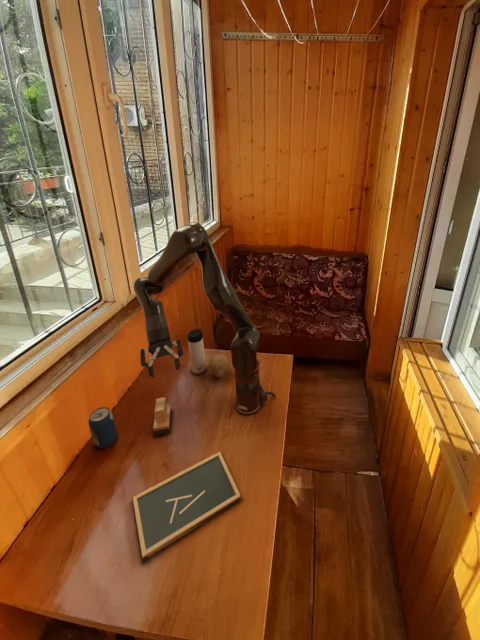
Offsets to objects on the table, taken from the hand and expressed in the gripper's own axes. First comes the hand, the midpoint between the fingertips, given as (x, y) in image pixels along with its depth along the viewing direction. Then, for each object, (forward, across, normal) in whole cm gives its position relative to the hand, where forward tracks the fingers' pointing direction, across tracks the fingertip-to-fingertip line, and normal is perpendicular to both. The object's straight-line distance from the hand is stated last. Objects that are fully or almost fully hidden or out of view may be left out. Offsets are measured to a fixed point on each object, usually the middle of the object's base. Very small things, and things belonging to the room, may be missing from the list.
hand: (165, 373), depth 111 cm
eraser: (+17, -2, +9) cm, 19 cm away
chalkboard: (+35, -4, -16) cm, 39 cm away
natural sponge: (+8, +26, +16) cm, 32 cm away
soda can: (+16, -20, +13) cm, 29 cm away
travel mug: (+4, +19, +24) cm, 31 cm away
